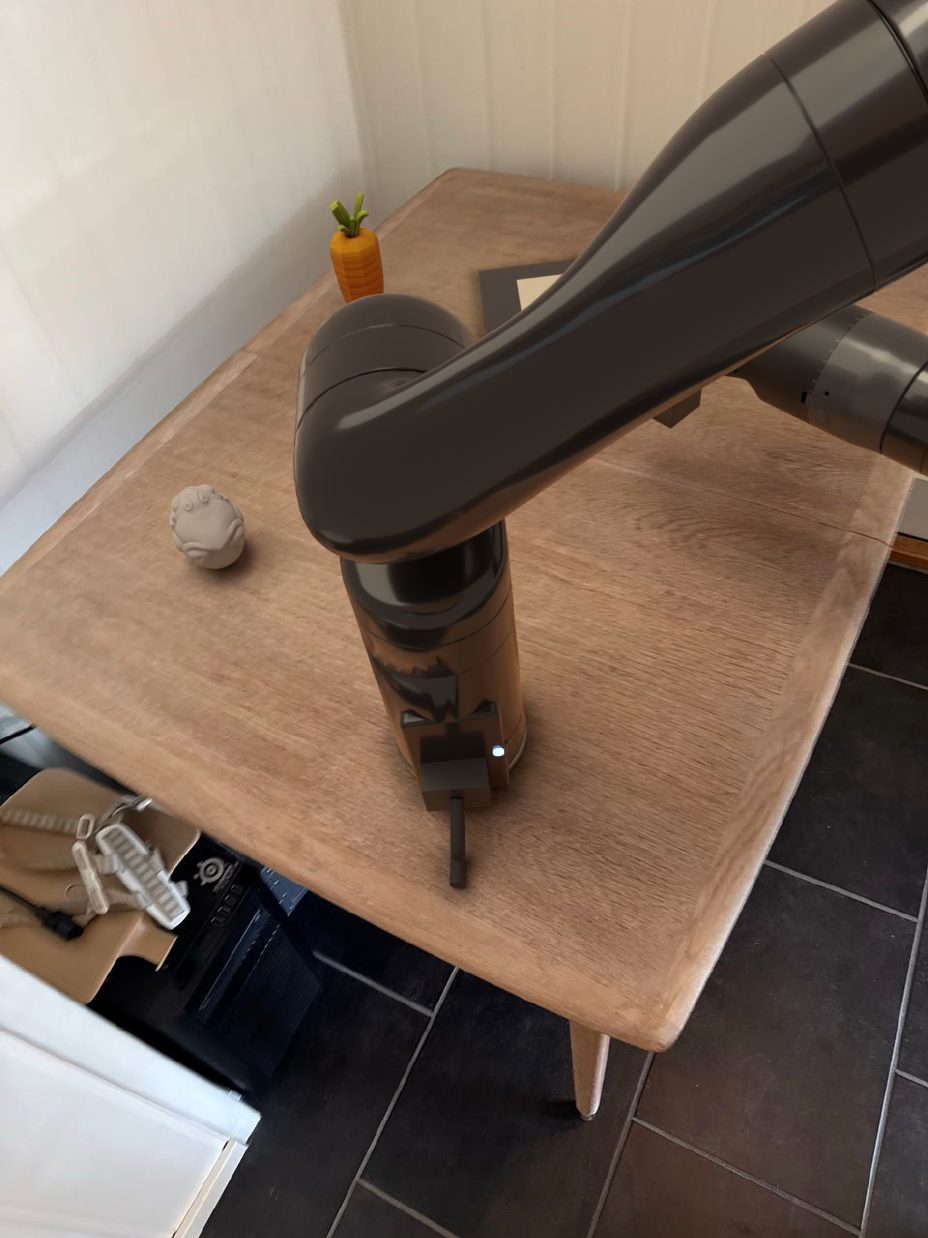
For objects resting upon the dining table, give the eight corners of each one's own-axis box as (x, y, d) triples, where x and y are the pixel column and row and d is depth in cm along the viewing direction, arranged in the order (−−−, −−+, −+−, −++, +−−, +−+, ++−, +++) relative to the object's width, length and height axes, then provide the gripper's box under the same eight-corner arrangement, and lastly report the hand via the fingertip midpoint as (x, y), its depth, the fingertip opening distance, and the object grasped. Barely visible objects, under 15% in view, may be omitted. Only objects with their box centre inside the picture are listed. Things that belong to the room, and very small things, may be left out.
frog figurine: (239, 518, 79) (213, 460, 74) (269, 565, 75) (244, 508, 70) (176, 548, 78) (145, 491, 72) (204, 598, 74) (173, 542, 68)
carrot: (387, 315, 96) (361, 178, 84) (401, 339, 93) (376, 200, 81) (344, 328, 95) (311, 192, 83) (357, 353, 92) (324, 215, 80)
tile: (678, 376, 85) (679, 366, 84) (493, 398, 86) (492, 388, 85) (638, 253, 98) (639, 243, 97) (478, 273, 99) (477, 263, 98)
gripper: (928, 269, 55) (704, 188, 64) (794, 378, 50) (572, 274, 59) (894, 368, 61) (693, 281, 70) (772, 474, 56) (572, 367, 65)
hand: (639, 278), depth 64 cm, fingers closed on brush, 2 cm apart
